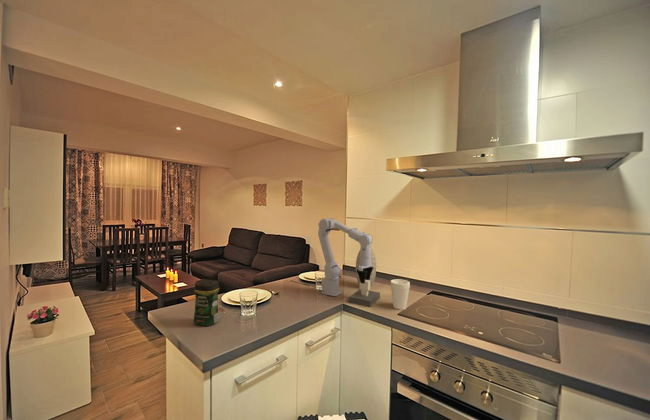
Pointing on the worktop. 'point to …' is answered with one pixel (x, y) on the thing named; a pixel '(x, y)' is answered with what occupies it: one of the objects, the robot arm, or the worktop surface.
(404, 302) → the foam cup
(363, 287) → the plug
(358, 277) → the vase
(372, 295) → the socket block
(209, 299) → the coffee jar
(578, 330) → the worktop surface
